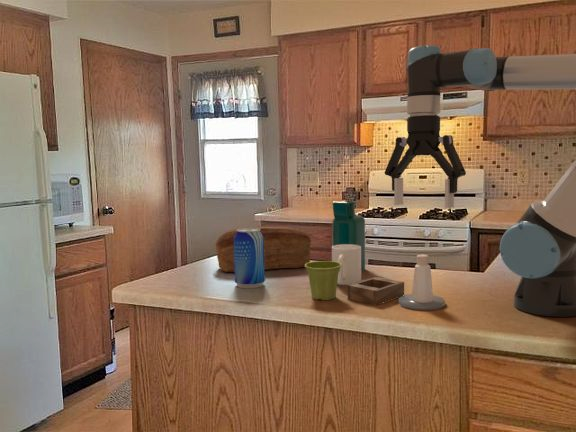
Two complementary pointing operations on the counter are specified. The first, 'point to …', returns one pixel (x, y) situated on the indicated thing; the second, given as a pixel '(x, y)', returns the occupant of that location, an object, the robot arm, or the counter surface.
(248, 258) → the beer can
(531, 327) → the counter surface
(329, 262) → the plant pot
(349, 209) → the teal bottle
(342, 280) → the mug
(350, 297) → the pocket block
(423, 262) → the salt shaker
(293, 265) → the bread
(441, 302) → the grey plate
